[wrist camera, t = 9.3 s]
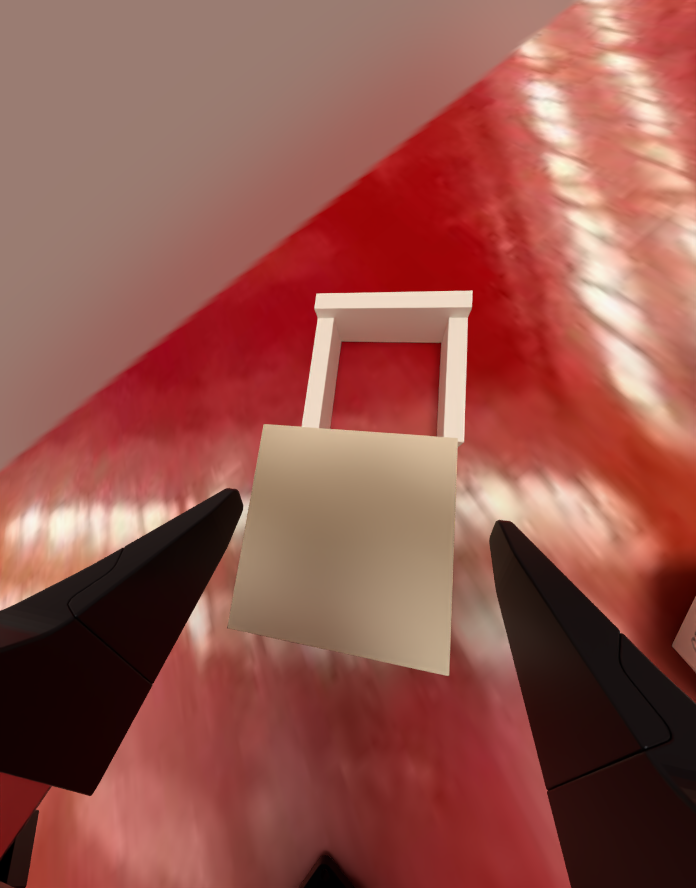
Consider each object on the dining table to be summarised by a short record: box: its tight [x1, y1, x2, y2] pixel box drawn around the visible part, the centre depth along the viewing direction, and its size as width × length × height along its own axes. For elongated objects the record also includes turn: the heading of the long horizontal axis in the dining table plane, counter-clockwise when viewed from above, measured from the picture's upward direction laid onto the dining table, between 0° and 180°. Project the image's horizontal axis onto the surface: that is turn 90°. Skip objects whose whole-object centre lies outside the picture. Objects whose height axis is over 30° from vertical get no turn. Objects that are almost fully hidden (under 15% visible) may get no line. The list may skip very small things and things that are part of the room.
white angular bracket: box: [302, 291, 472, 448], centre depth 20 cm, size 10×10×4 cm
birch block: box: [227, 424, 458, 676], centre depth 13 cm, size 6×6×12 cm
